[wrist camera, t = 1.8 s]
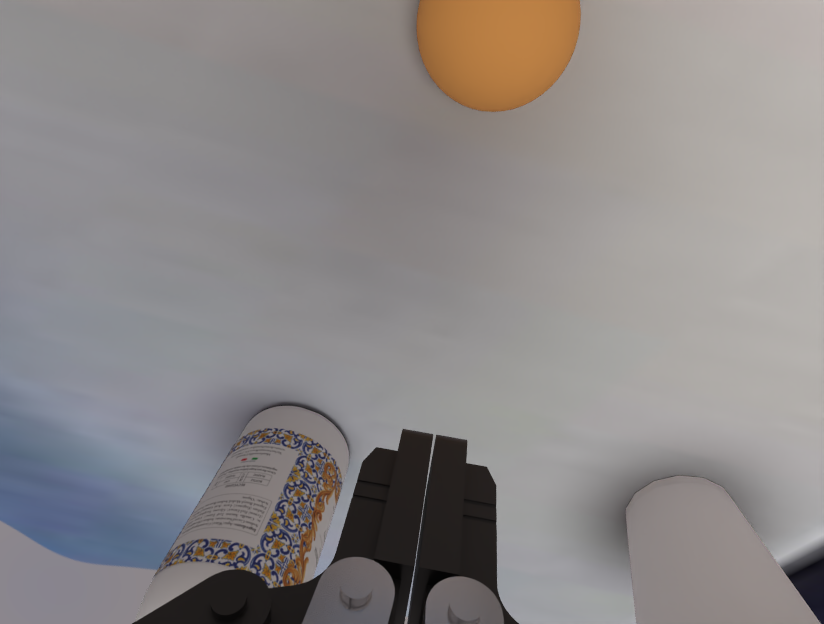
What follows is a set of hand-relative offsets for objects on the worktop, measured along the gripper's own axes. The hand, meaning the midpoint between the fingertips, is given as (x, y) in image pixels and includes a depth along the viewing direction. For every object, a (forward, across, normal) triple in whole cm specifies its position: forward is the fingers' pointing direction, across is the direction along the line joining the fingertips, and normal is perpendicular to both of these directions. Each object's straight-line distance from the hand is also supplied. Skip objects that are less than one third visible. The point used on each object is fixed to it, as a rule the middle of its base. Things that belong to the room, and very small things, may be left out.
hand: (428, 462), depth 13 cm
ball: (+14, 0, -9) cm, 16 cm away
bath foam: (+17, +8, +16) cm, 25 cm away
